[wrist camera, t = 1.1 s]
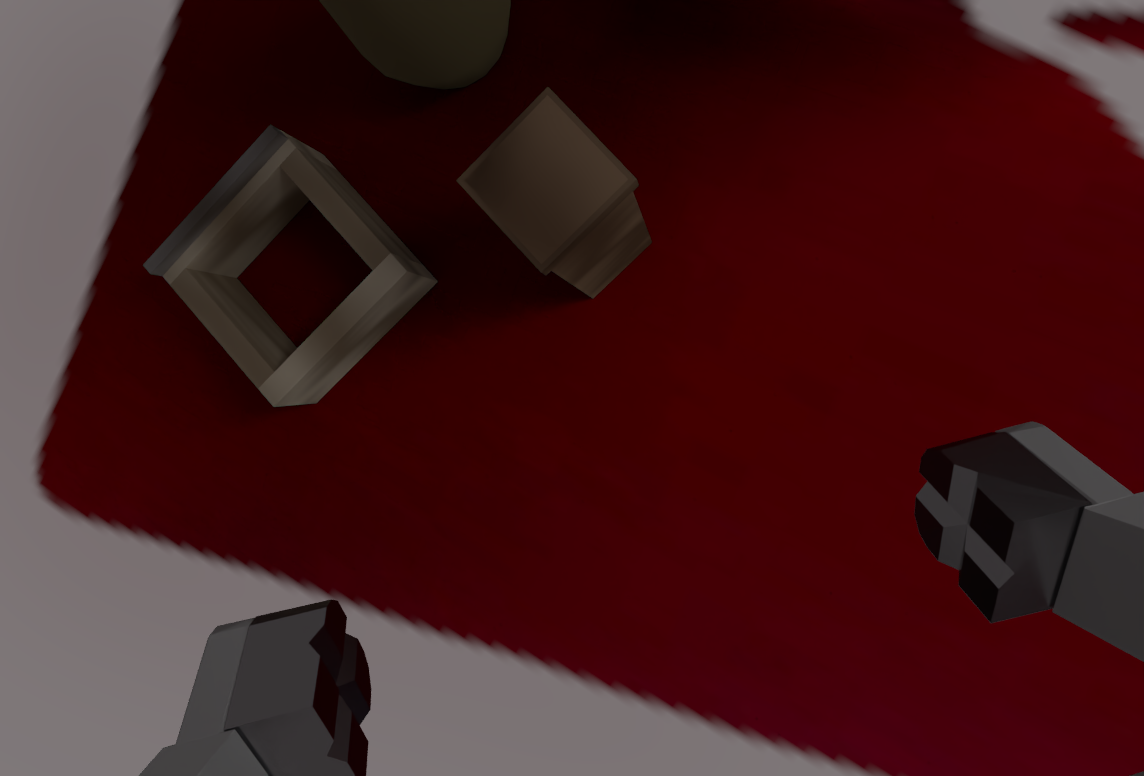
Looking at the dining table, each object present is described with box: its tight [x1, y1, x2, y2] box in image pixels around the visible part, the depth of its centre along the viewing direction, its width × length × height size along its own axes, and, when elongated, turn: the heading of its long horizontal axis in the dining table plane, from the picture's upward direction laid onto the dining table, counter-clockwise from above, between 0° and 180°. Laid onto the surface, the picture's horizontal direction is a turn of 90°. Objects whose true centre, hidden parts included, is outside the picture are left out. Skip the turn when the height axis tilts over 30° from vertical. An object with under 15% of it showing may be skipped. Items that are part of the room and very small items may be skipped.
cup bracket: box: [143, 125, 438, 407], centre depth 36 cm, size 9×9×5 cm
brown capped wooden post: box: [456, 87, 652, 298], centre depth 30 cm, size 4×4×12 cm
